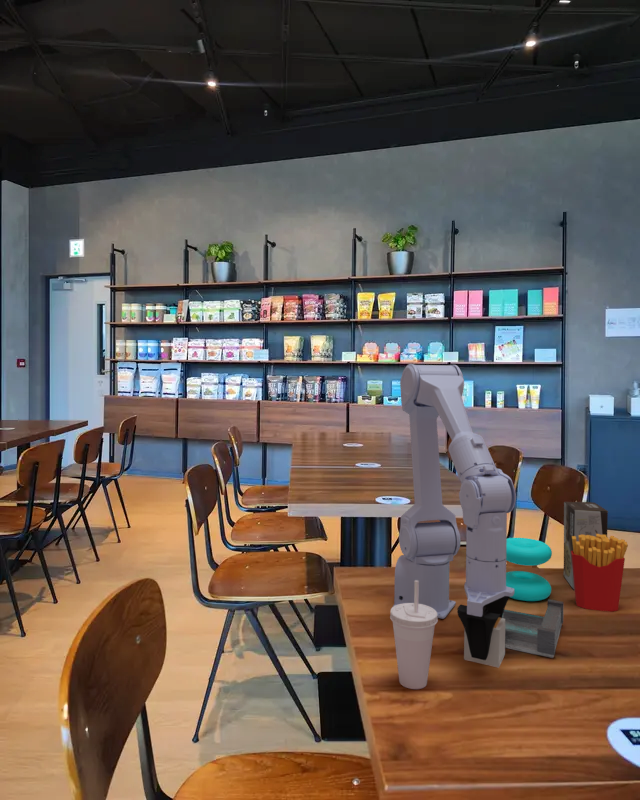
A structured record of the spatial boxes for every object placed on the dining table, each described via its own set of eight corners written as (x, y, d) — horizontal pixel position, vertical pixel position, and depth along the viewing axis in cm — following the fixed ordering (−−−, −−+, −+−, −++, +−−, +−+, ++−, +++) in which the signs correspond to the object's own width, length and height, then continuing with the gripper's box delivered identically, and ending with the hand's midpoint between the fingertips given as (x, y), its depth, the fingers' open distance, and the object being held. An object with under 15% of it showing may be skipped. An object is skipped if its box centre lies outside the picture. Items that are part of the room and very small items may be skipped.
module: (464, 659, 83) (464, 621, 83) (471, 647, 87) (471, 610, 87) (499, 668, 81) (499, 628, 81) (504, 655, 85) (505, 617, 85)
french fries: (572, 607, 103) (573, 536, 103) (569, 599, 107) (570, 531, 107) (628, 613, 100) (629, 541, 100) (623, 604, 104) (624, 535, 104)
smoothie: (407, 699, 72) (409, 591, 72) (380, 676, 78) (381, 576, 78) (447, 687, 75) (448, 583, 75) (417, 666, 81) (418, 569, 81)
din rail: (474, 641, 89) (474, 616, 89) (492, 611, 101) (492, 589, 101) (554, 659, 83) (554, 632, 83) (563, 625, 95) (563, 601, 95)
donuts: (560, 550, 104) (505, 549, 105) (559, 604, 105) (504, 603, 105) (541, 536, 114) (491, 535, 115) (540, 585, 115) (490, 584, 115)
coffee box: (607, 592, 111) (609, 510, 110) (572, 590, 112) (573, 509, 111) (594, 577, 119) (596, 501, 119) (562, 575, 121) (563, 500, 120)
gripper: (504, 574, 75) (503, 675, 76) (522, 547, 88) (521, 634, 88) (452, 566, 79) (451, 662, 79) (476, 541, 91) (475, 624, 92)
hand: (484, 647), depth 84 cm, fingers open, 7 cm apart
